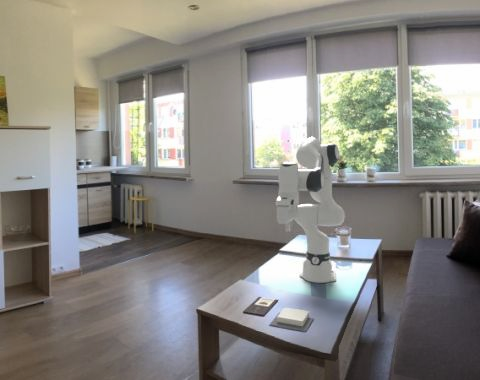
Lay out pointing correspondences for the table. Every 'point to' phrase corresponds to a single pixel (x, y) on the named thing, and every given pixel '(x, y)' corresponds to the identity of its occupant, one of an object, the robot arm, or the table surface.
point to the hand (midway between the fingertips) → (288, 231)
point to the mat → (290, 326)
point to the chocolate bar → (260, 306)
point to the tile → (293, 316)
